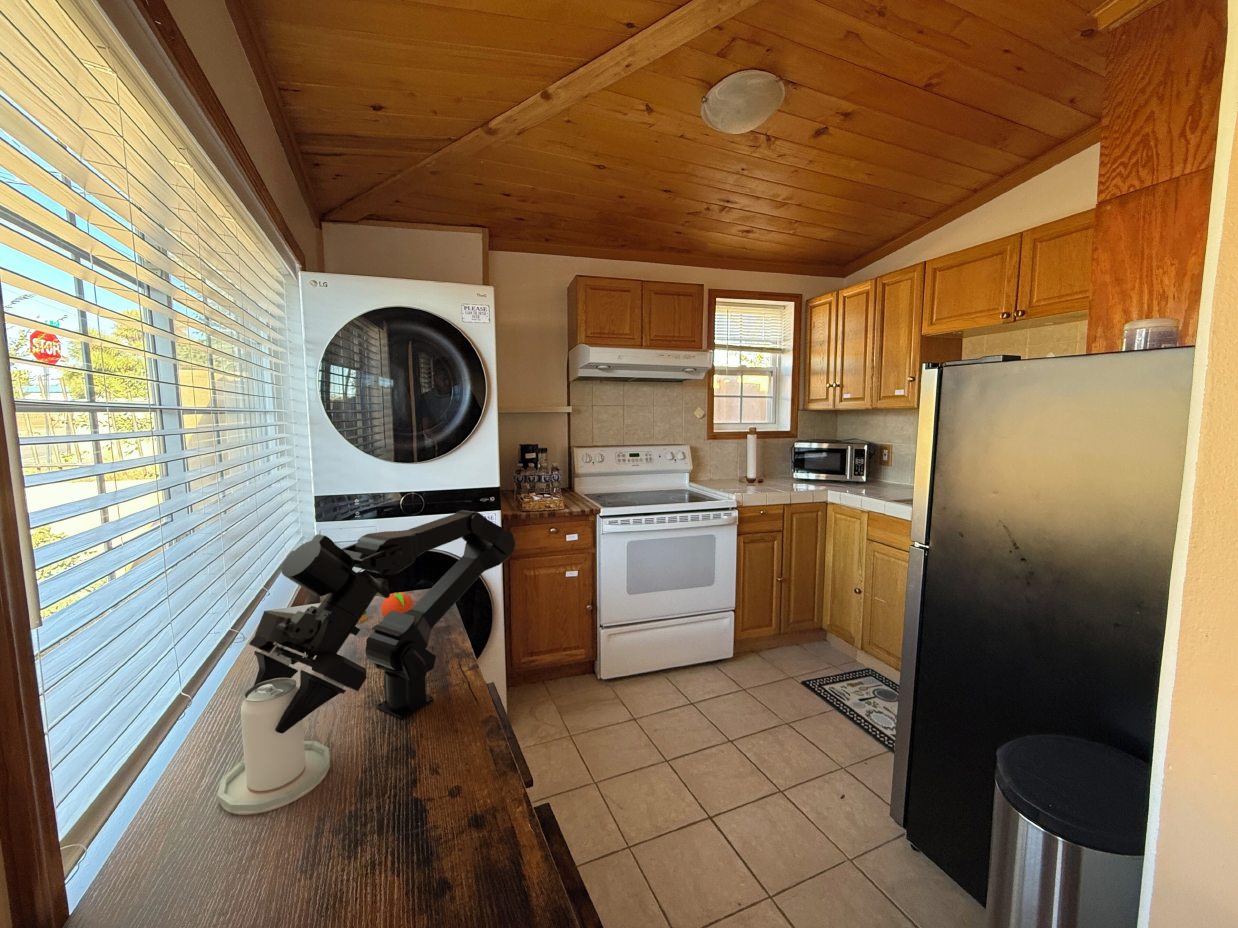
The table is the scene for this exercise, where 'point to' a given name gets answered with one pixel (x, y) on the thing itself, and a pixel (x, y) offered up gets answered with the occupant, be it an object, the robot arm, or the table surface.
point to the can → (270, 736)
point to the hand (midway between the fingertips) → (262, 723)
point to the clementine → (397, 603)
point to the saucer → (247, 801)
